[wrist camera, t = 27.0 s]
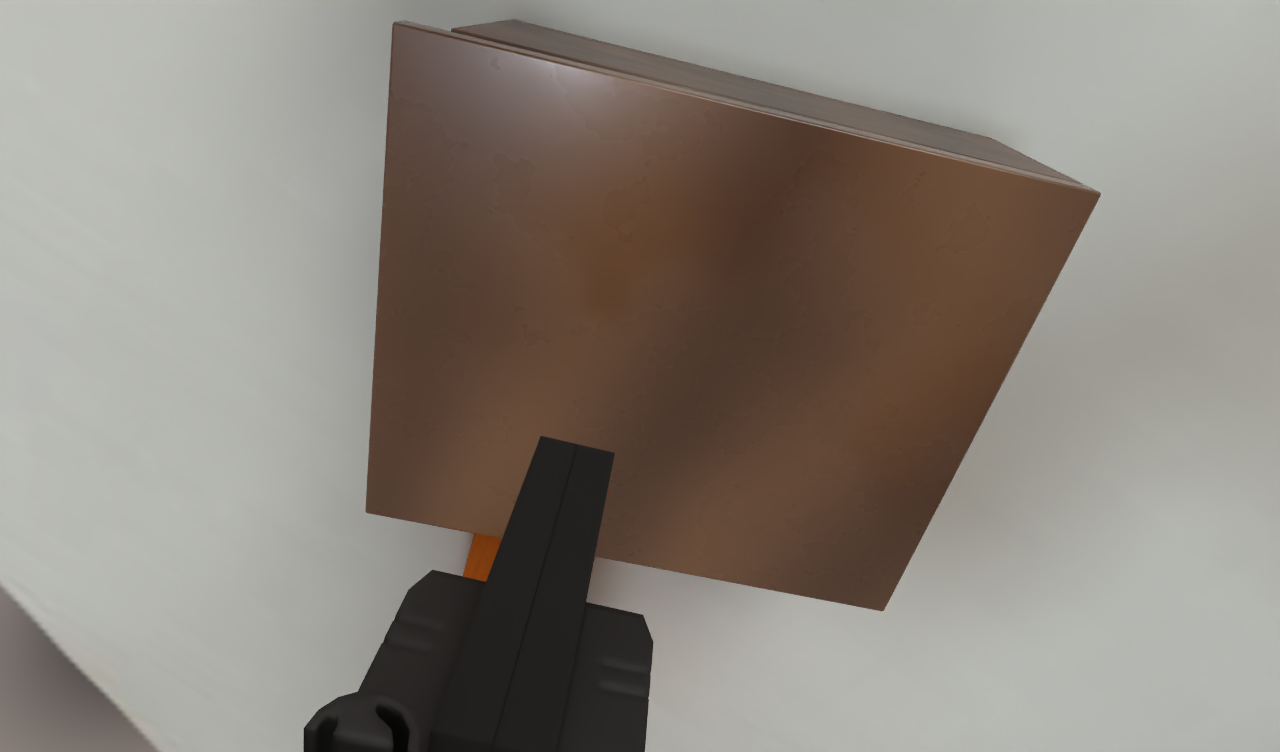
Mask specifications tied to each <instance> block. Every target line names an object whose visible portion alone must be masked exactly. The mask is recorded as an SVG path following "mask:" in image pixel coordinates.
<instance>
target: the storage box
mask: <svg viewBox="0 0 1280 752" xmlns="http://www.w3.org/2000/svg"><path fill="white" fill-rule="evenodd" d="M451 32H454V33H458V34H463V35H467V36H471V37H475V38H479V39H483V40H487V41H492V42H496V43H500V44H504V45H508V46H512V47H516V48H520V49H525V50H529V51H533V52H537V53H541V54H545V55H549V56H554V57H558V58H562V59H566V60H570V61H574V62H578V63H582V64H587V65H591V66H595V67H599V68H603V69H607V70H611V71H616V72H620V73H624V74H628V75H632V76H636V77H640V78H644V79H649V80H653V81H657V82H661V83H665V84H669V85H673V86H678V87H682V88H686V89H690V90H694V91H698V92H702V93H706V94H711V95H715V96H719V97H723V98H727V99H731V100H735V101H740V102H744V103H748V104H752V105H756V106H760V107H764V108H768V109H773V110H777V111H781V112H785V113H789V114H793V115H797V116H802V117H806V118H810V119H814V120H818V121H822V122H826V123H830V124H835V125H839V126H843V127H847V128H851V129H855V130H859V131H864V132H868V133H872V134H876V135H880V136H884V137H888V138H892V139H897V140H901V141H905V142H909V143H913V144H917V145H921V146H926V147H930V148H934V149H938V150H942V151H946V152H950V153H954V154H959V155H963V156H967V157H971V158H975V159H979V160H983V161H988V162H992V163H996V164H1000V165H1004V166H1008V167H1012V168H1016V169H1021V170H1025V171H1029V172H1033V173H1037V174H1041V175H1045V176H1050V177H1054V178H1058V179H1062V180H1066V181H1070V182H1074V183H1079V184H1082V183H1080V182H1078V181H1076V180H1074V179H1072V178H1070V177H1068V176H1066V175H1064V174H1062V173H1060V172H1058V171H1056V170H1054V169H1052V168H1050V167H1048V166H1046V165H1044V164H1042V163H1040V162H1038V161H1036V160H1034V159H1032V158H1030V157H1028V156H1026V155H1024V154H1022V153H1020V152H1018V151H1016V150H1014V149H1012V148H1010V147H1008V146H1006V145H1004V144H1002V143H1000V142H997V141H996V140H994V139H992V138H988V137H984V136H980V135H976V134H972V133H968V132H964V131H960V130H956V129H952V128H948V127H944V126H940V125H936V124H932V123H928V122H924V121H920V120H916V119H912V118H908V117H904V116H900V115H896V114H892V113H888V112H884V111H880V110H875V109H871V108H867V107H863V106H859V105H855V104H851V103H847V102H843V101H839V100H835V99H831V98H827V97H823V96H819V95H815V94H811V93H807V92H803V91H799V90H795V89H791V88H787V87H783V86H779V85H775V84H771V83H767V82H763V81H759V80H755V79H751V78H747V77H743V76H739V75H735V74H730V73H726V72H722V71H718V70H714V69H710V68H706V67H702V66H698V65H694V64H690V63H686V62H682V61H678V60H674V59H670V58H666V57H662V56H658V55H654V54H650V53H646V52H642V51H638V50H634V49H630V48H626V47H622V46H618V45H614V44H610V43H606V42H602V41H598V40H594V39H590V38H585V37H581V36H577V35H573V34H569V33H565V32H561V31H557V30H553V29H549V28H545V27H541V26H537V25H533V24H529V23H525V22H521V21H517V20H506V21H500V22H493V23H486V24H479V25H473V26H466V27H459V28H453V29H451Z"/></svg>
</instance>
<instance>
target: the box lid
mask: <svg viewBox="0 0 1280 752" xmlns="http://www.w3.org/2000/svg"><path fill="white" fill-rule="evenodd" d="M1100 196H1101V193H1100V192H1098V191H1096V190H1094V189H1092V188H1090V187H1088V186H1086V185H1083V184H1079V183H1074V182H1070V181H1066V180H1062V179H1058V178H1054V177H1050V176H1045V175H1041V174H1037V173H1033V172H1029V171H1025V170H1021V169H1016V168H1012V167H1008V166H1004V165H1000V164H996V163H992V162H988V161H983V160H979V159H975V158H971V157H967V156H963V155H959V154H954V153H950V152H946V151H942V150H938V149H934V148H930V147H926V146H921V145H917V144H913V143H909V142H905V141H901V140H897V139H892V138H888V137H884V136H880V135H876V134H872V133H868V132H864V131H859V130H855V129H851V128H847V127H843V126H839V125H835V124H830V123H826V122H822V121H818V120H814V119H810V118H806V117H802V116H797V115H793V114H789V113H785V112H781V111H777V110H773V109H768V108H764V107H760V106H756V105H752V104H748V103H744V102H740V101H735V100H731V99H727V98H723V97H719V96H715V95H711V94H706V93H702V92H698V91H694V90H690V89H686V88H682V87H678V86H673V85H669V84H665V83H661V82H657V81H653V80H649V79H644V78H640V77H636V76H632V75H628V74H624V73H620V72H616V71H611V70H607V69H603V68H599V67H595V66H591V65H587V64H582V63H578V62H574V61H570V60H566V59H562V58H558V57H554V56H549V55H545V54H541V53H537V52H533V51H529V50H525V49H520V48H516V47H512V46H508V45H504V44H500V43H496V42H492V41H487V40H483V39H479V38H475V37H471V36H467V35H463V34H458V33H454V32H450V31H446V30H442V29H438V28H434V27H430V26H425V25H421V24H417V23H413V22H409V21H400V22H394V23H393V26H392V44H391V62H390V80H389V98H388V116H387V134H386V152H385V170H384V188H383V206H382V224H381V242H380V260H379V278H378V296H377V314H376V332H375V350H374V368H373V386H372V404H371V422H370V440H369V458H368V476H367V494H366V513H370V514H375V515H381V516H386V517H391V518H396V519H402V520H407V521H412V522H417V523H423V524H428V525H433V526H438V527H443V528H449V529H454V530H459V531H464V532H470V533H475V534H480V535H485V536H491V537H496V538H501V539H502V538H503V535H504V532H505V530H506V527H507V524H508V522H509V519H510V516H511V514H512V511H513V508H514V505H515V503H516V500H517V497H518V495H519V492H520V489H521V487H522V484H523V481H524V479H525V476H526V473H527V471H528V468H529V465H530V463H531V460H532V457H533V455H534V452H535V449H536V447H537V444H538V441H539V439H540V436H544V437H549V438H553V439H557V440H562V441H566V442H570V443H575V444H579V445H583V446H588V447H592V448H597V449H601V450H605V451H610V452H614V453H615V455H614V460H613V465H612V470H611V475H610V480H609V486H608V491H607V496H606V501H605V506H604V511H603V516H602V521H601V526H600V531H599V537H598V542H597V547H596V552H595V556H596V557H601V558H606V559H611V560H616V561H622V562H627V563H632V564H637V565H643V566H648V567H653V568H658V569H664V570H669V571H674V572H679V573H685V574H690V575H695V576H700V577H706V578H711V579H716V580H721V581H727V582H732V583H737V584H742V585H748V586H753V587H758V588H763V589H769V590H774V591H779V592H784V593H789V594H795V595H800V596H805V597H810V598H816V599H821V600H826V601H831V602H837V603H842V604H847V605H852V606H858V607H863V608H868V609H873V610H879V611H884V609H885V607H886V605H887V603H888V601H889V599H890V597H891V596H892V594H893V592H894V590H895V588H896V586H897V584H898V582H899V580H900V578H901V576H902V575H903V573H904V571H905V569H906V567H907V565H908V563H909V561H910V559H911V557H912V555H913V553H914V552H915V550H916V548H917V546H918V544H919V542H920V540H921V538H922V536H923V534H924V532H925V530H926V529H927V527H928V525H929V523H930V521H931V519H932V517H933V515H934V513H935V511H936V509H937V508H938V506H939V504H940V502H941V500H942V498H943V496H944V494H945V492H946V490H947V488H948V486H949V485H950V483H951V481H952V479H953V477H954V475H955V473H956V471H957V469H958V467H959V465H960V464H961V462H962V460H963V458H964V456H965V454H966V452H967V450H968V448H969V446H970V444H971V442H972V441H973V439H974V437H975V435H976V433H977V431H978V429H979V427H980V425H981V423H982V421H983V419H984V418H985V416H986V414H987V412H988V410H989V408H990V406H991V404H992V402H993V400H994V398H995V397H996V395H997V393H998V391H999V389H1000V387H1001V385H1002V383H1003V381H1004V379H1005V377H1006V375H1007V374H1008V372H1009V370H1010V368H1011V366H1012V364H1013V362H1014V360H1015V358H1016V356H1017V354H1018V353H1019V351H1020V349H1021V347H1022V345H1023V343H1024V341H1025V339H1026V337H1027V335H1028V333H1029V331H1030V330H1031V328H1032V326H1033V324H1034V322H1035V320H1036V318H1037V316H1038V314H1039V312H1040V310H1041V308H1042V307H1043V305H1044V303H1045V301H1046V299H1047V297H1048V295H1049V293H1050V291H1051V289H1052V287H1053V286H1054V284H1055V282H1056V280H1057V278H1058V276H1059V274H1060V272H1061V270H1062V268H1063V266H1064V264H1065V263H1066V261H1067V259H1068V257H1069V255H1070V253H1071V251H1072V249H1073V247H1074V245H1075V243H1076V242H1077V240H1078V238H1079V236H1080V234H1081V232H1082V230H1083V228H1084V226H1085V224H1086V222H1087V220H1088V219H1089V217H1090V215H1091V213H1092V211H1093V209H1094V207H1095V205H1096V203H1097V201H1098V199H1099V197H1100Z"/></svg>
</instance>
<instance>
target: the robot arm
mask: <svg viewBox="0 0 1280 752" xmlns="http://www.w3.org/2000/svg"><path fill="white" fill-rule="evenodd" d="M614 455H615V453H614V452H610V451H605V450H601V449H597V448H592V447H588V446H583V445H579V444H575V443H570V442H566V441H562V440H557V439H553V438H549V437H544V436H540V439H539V441H538V444H537V447H536V449H535V452H534V455H533V457H532V460H531V463H530V465H529V468H528V471H527V473H526V476H525V479H524V481H523V484H522V487H521V489H520V492H519V495H518V497H517V500H516V503H515V505H514V508H513V511H512V514H511V516H510V519H509V522H508V524H507V527H506V530H505V532H504V535H503V538H502V540H501V543H500V546H499V548H498V551H497V554H496V556H495V559H494V562H493V564H492V567H491V570H490V572H489V575H488V578H487V580H486V582H485V581H480V580H476V579H471V578H467V577H462V576H458V575H453V574H449V573H444V572H440V571H435V570H432V571H430V572H429V573H428V574H427V575H426V576H424V577H423V578H422V579H421V580H420V581H418V582H417V583H416V584H415V585H414V586H412V587H411V588H410V589H409V590H408V592H407V594H406V596H405V598H404V600H403V602H402V604H401V606H400V608H399V610H398V612H397V614H396V616H395V620H394V621H393V622H392V624H391V626H390V628H389V630H388V632H387V634H386V636H385V639H384V642H383V643H382V644H381V646H380V648H379V650H378V652H377V654H376V656H375V658H374V660H373V662H372V664H371V666H370V668H369V670H368V672H367V674H366V676H365V678H364V680H363V682H362V684H361V686H360V688H359V690H358V692H355V693H352V694H348V695H344V696H341V697H338V698H336V699H335V700H333V701H332V702H330V703H329V704H327V705H325V706H324V707H322V708H321V709H319V710H318V711H317V712H316V714H315V715H314V716H313V717H312V719H311V720H310V721H309V722H308V724H307V725H306V726H305V727H304V752H645V741H646V728H647V715H648V702H649V700H648V697H649V690H650V677H651V676H650V672H651V664H652V651H653V640H652V638H651V635H650V632H649V630H648V627H647V624H646V622H645V619H644V617H643V615H641V614H637V613H632V612H628V611H623V610H619V609H614V608H610V607H605V606H601V605H596V604H592V603H587V602H586V598H587V593H588V588H589V583H590V577H591V572H592V567H593V562H594V557H595V552H596V547H597V542H598V537H599V531H600V526H601V521H602V516H603V511H604V506H605V501H606V496H607V491H608V486H609V480H610V475H611V470H612V465H613V460H614Z"/></svg>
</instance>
